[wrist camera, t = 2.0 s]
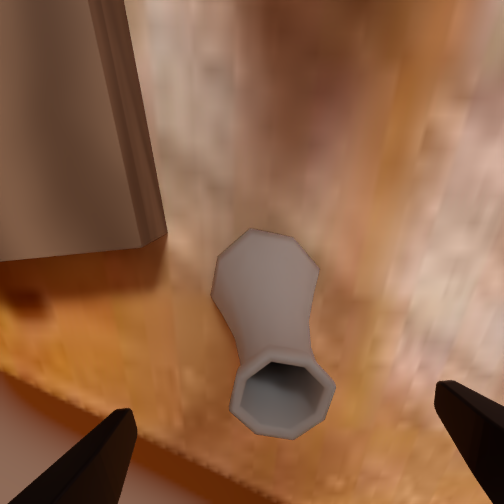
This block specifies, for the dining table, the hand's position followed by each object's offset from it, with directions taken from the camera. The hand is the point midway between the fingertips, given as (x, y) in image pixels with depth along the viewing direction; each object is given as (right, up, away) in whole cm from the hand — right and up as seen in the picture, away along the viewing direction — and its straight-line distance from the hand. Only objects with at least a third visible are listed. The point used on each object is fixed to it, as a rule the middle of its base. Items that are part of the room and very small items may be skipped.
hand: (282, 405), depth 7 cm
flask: (0, +3, +10) cm, 11 cm away
